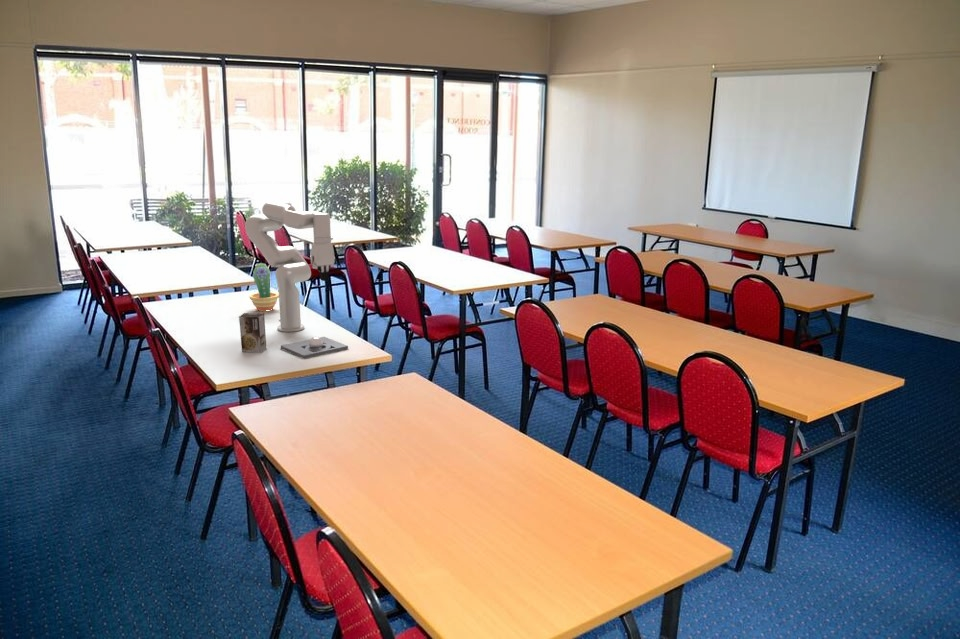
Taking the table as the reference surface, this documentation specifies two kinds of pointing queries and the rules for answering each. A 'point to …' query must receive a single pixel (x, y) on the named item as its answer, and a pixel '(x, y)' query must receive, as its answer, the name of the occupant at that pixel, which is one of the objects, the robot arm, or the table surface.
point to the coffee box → (252, 332)
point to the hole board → (305, 351)
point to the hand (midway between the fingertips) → (324, 280)
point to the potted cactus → (263, 289)
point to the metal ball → (316, 343)
